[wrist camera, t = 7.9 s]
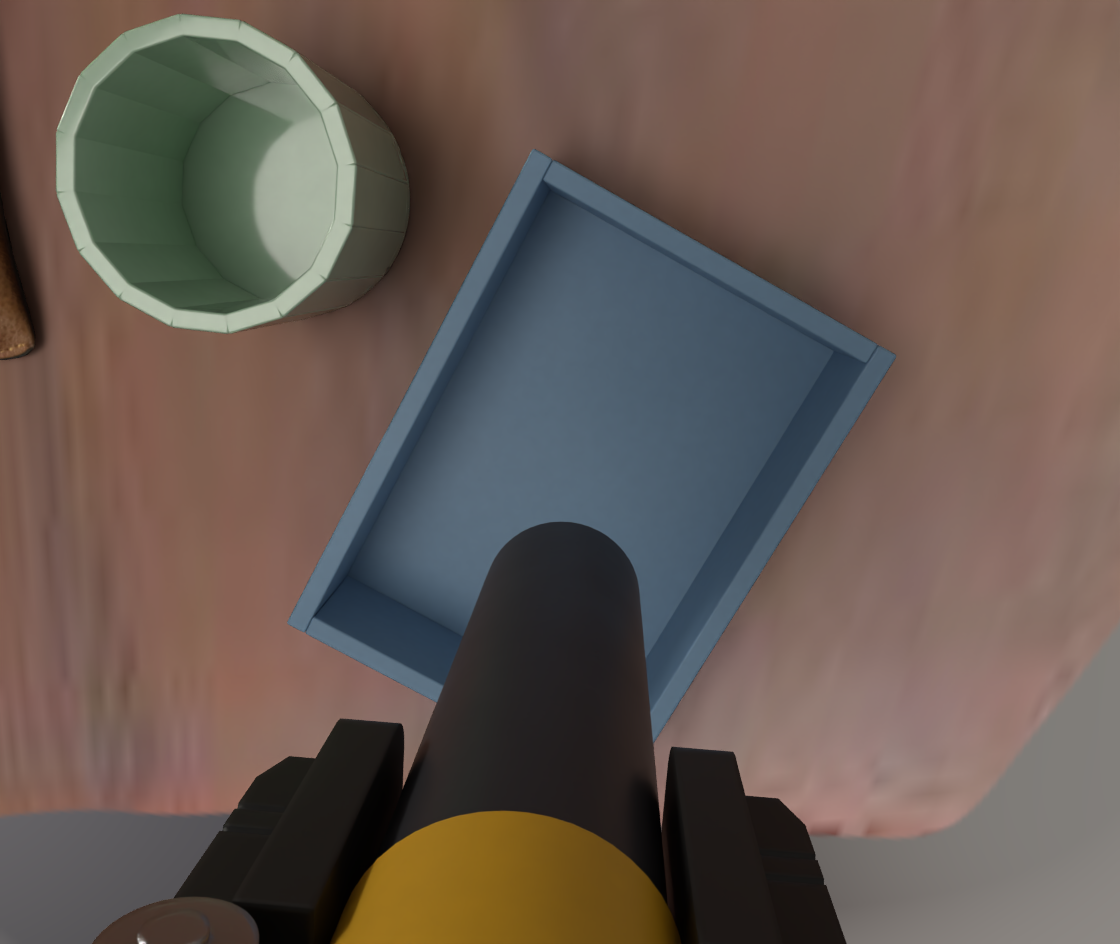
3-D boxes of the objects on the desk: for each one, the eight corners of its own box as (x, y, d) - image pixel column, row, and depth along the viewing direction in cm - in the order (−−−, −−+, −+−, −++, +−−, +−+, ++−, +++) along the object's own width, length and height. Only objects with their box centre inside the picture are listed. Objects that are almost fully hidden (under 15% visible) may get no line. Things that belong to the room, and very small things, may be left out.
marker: (452, 623, 20) (162, 1284, 7) (529, 485, 19) (366, 933, 6) (593, 699, 20) (565, 1478, 7) (675, 565, 19) (803, 1158, 6)
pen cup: (138, 244, 32) (9, 240, 25) (235, 24, 30) (127, -46, 23) (346, 358, 32) (276, 384, 25) (451, 146, 31) (407, 114, 24)
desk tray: (327, 576, 34) (285, 623, 29) (543, 163, 31) (532, 147, 26) (617, 730, 34) (619, 799, 30) (856, 341, 31) (897, 355, 27)
